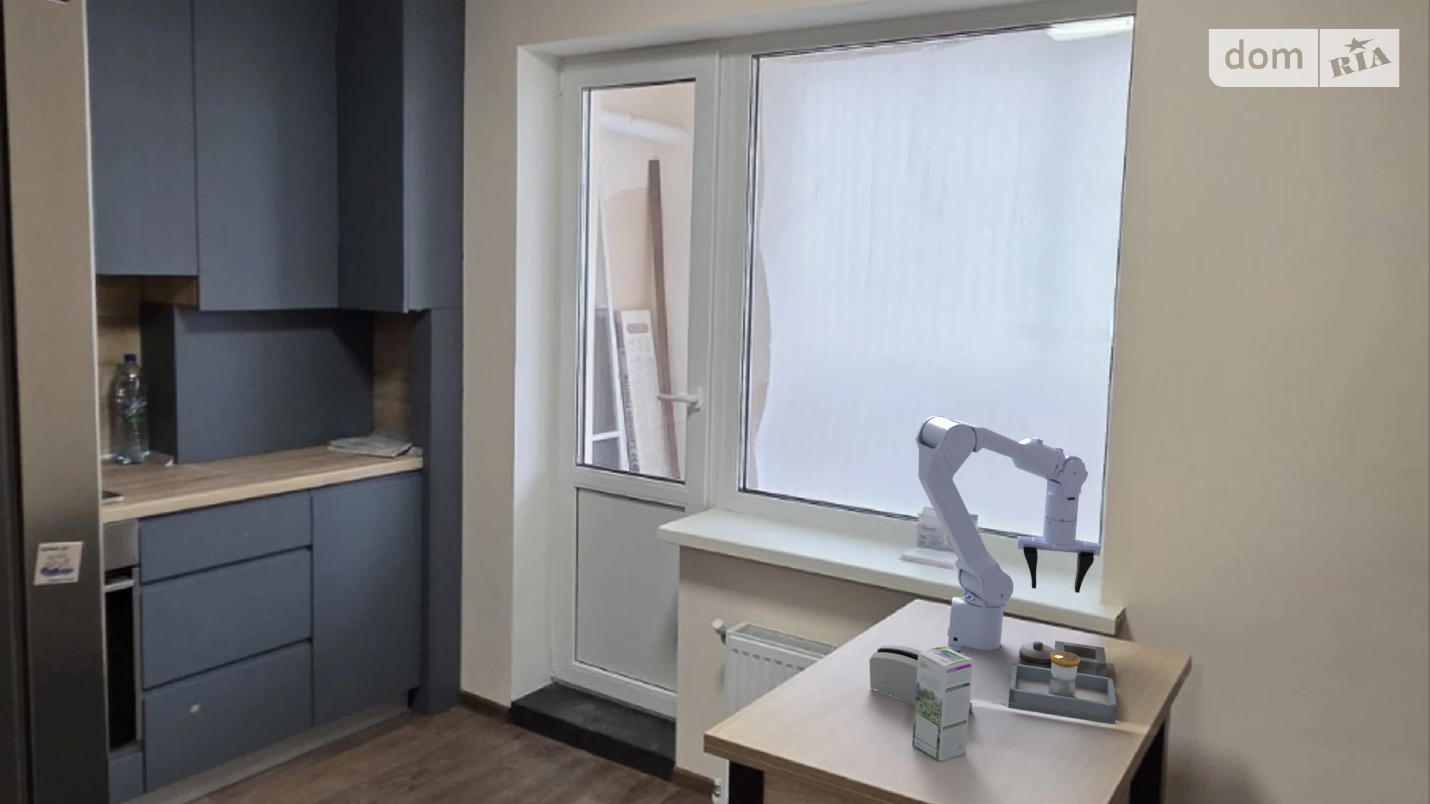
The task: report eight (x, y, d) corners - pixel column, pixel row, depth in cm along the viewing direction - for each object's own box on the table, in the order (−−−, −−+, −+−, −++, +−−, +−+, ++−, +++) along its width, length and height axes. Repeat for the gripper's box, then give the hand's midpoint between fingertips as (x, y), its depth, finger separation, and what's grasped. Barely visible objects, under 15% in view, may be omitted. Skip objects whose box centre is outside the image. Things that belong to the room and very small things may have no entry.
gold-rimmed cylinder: (1046, 700, 174) (1050, 659, 173) (1046, 689, 179) (1050, 649, 178) (1076, 705, 173) (1080, 663, 172) (1076, 694, 177) (1079, 653, 176)
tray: (1008, 707, 172) (1009, 689, 172) (1010, 679, 183) (1012, 663, 183) (1114, 724, 168) (1116, 706, 167) (1110, 695, 179) (1112, 678, 178)
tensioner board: (1017, 675, 186) (1019, 650, 185) (1019, 655, 195) (1021, 631, 194) (1116, 690, 181) (1118, 664, 180) (1113, 669, 190) (1115, 644, 190)
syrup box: (967, 754, 155) (975, 657, 153) (937, 763, 152) (945, 664, 150) (939, 738, 160) (946, 644, 158) (909, 746, 157) (916, 651, 155)
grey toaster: (975, 712, 170) (968, 660, 166) (959, 730, 167) (952, 678, 163) (886, 680, 181) (878, 630, 177) (870, 696, 178) (862, 646, 174)
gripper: (1020, 519, 197) (1015, 591, 199) (1104, 526, 193) (1098, 599, 195) (1019, 510, 203) (1014, 580, 205) (1100, 517, 200) (1094, 587, 202)
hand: (1055, 589), depth 201 cm, fingers open, 7 cm apart
